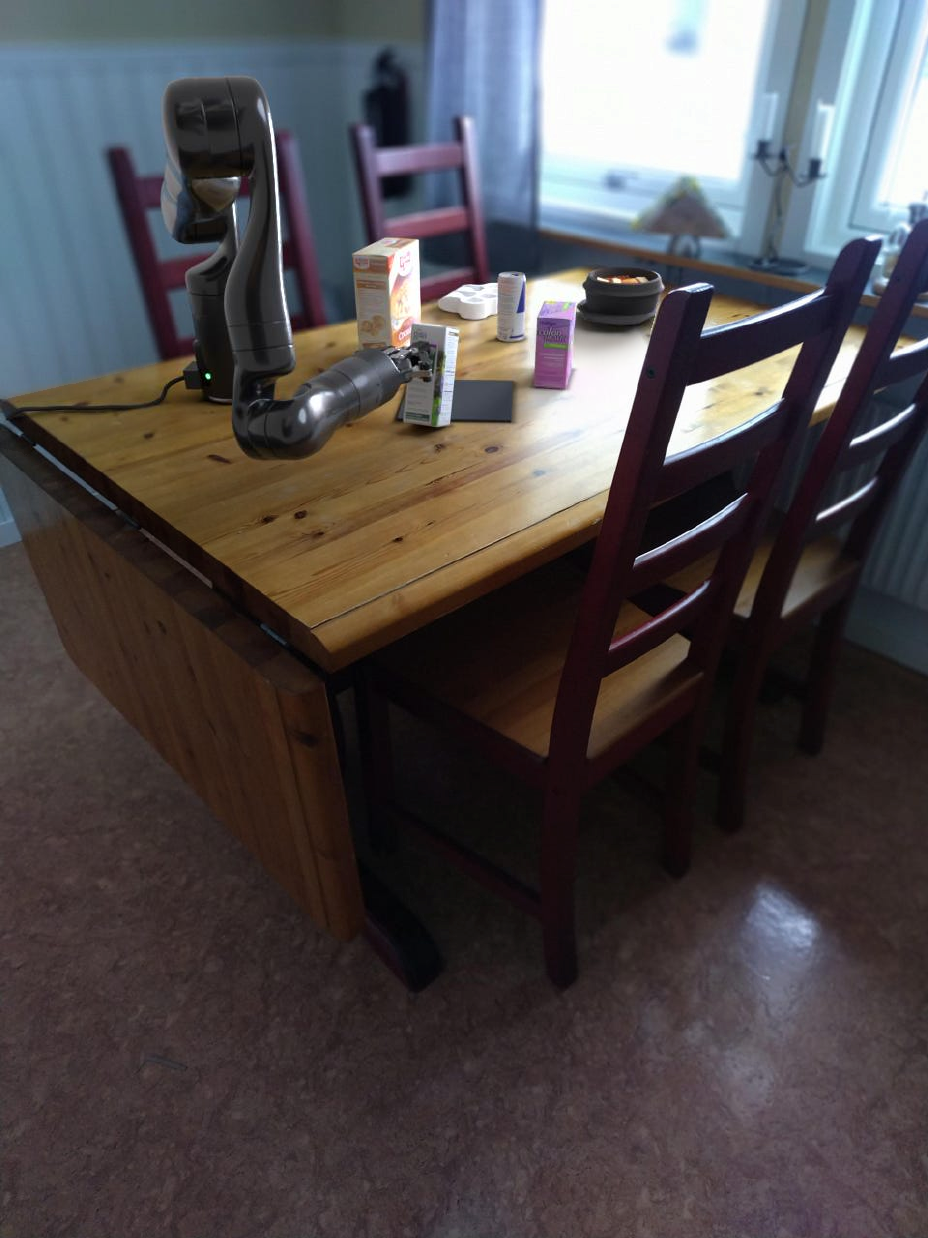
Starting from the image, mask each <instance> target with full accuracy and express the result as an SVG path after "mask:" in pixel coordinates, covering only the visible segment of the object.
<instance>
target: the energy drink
mask: <svg viewBox="0 0 928 1238" xmlns="http://www.w3.org/2000/svg"><path fill="white" fill-rule="evenodd" d="M497 277H498V278H497V283H498V296H497V314H496V337H497V339H498V340H499V341H501V342H505V343H516V342H521V341H522V340H523V339H524V338H525V318H526V317H525V316H526V315H525V314H526V280H527V278H526V275H525V273H524V272H518V271H504V272H500V273H499V274H498V276H497Z"/></svg>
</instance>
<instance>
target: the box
mask: <svg viewBox="0 0 928 1238" xmlns="http://www.w3.org/2000/svg"><path fill="white" fill-rule="evenodd" d="M577 305H578V303H577V302H574V301H563V300H562V301H561V300H559V301H558V300H544V301H543V303H542V305H541V308H540V310H539V313H538V315H537V317H536V332H535V349H534V371H533V372H534V373H533V387H534V388H542V389H543V388H545V389H558V390H559V389H561V390H566V389H567V386H568V383H569V382H568V381H569V378H570V375H571V373H572V369H573V357H574V356H573V353H574V339H575V327H576V316H577Z"/></svg>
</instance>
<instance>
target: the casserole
mask: <svg viewBox="0 0 928 1238" xmlns="http://www.w3.org/2000/svg"><path fill="white" fill-rule="evenodd" d="M581 287H582V289H583V290H584V292H585V298H584V299H583V300H580V301H579V302H578V303H577V305H576V310H578V311H579V312H580V313H581V314H582V318H583V319H584V320H586V321H589V322H593V323H597V324H602V325H603V324H605V325H615V326H632V325H633V326H634V325H639V324H641V323H643V322H645V321H647V320H650V319H654V318H656V317H655V313H656V309H657V306H658V304H659V302H660V297H661V293H663V291H664V290H665V288H666V286H665V284H664V283H663V281H662V276H661V275H660V274H659V273H657V272H656V271H653V270H651V269H645V268H639V267H630V266H629V267H628V266H626V267H625V266H616V267H615V266H614V267H613V266H612V267H604V268H598V269H595V270H592V271H590V272H588V274H587V276H586V278H585V280H584V281H583V282H582V284H581Z"/></svg>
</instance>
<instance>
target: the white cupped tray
mask: <svg viewBox="0 0 928 1238" xmlns="http://www.w3.org/2000/svg"><path fill="white" fill-rule="evenodd" d="M497 296H498V282H491V283H485V284H463V285H462V286H460V287H458V288H457V289H455V290H453V291H451V292H449V293H448V294H447V295H444V296H442V297H441V298H439V299H437V307H438V308H439V309H440V310H442V311H445V312H448V313H454V314H459V315H460V317H461V318H463V319H466V320H472V321H473V320H475V321H476V320H485V319H486V318H487V317H489V316H495V315H496V316H497Z"/></svg>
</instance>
